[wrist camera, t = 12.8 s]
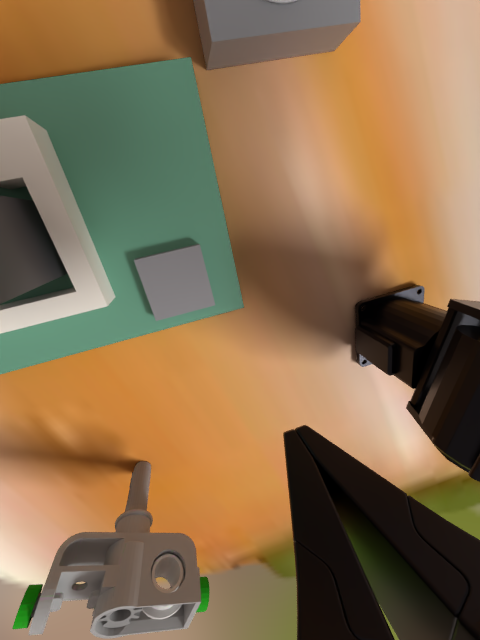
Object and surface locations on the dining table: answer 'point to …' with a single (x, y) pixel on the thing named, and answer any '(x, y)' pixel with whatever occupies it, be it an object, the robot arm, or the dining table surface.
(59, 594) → the mechanical component
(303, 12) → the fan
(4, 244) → the plug
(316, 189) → the dining table surface
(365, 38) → the dining table surface
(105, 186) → the board
